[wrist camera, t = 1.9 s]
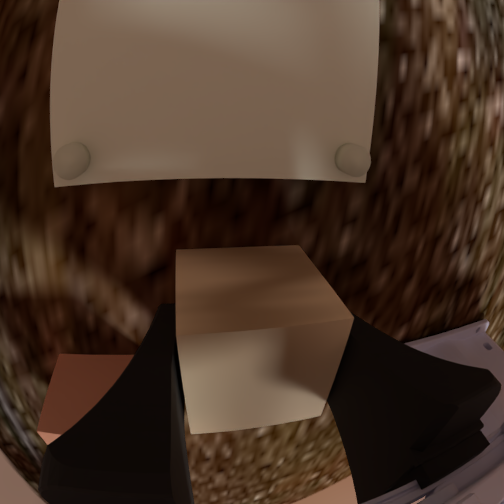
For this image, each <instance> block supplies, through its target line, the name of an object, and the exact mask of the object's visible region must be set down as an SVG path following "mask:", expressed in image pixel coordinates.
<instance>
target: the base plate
mask: <svg viewBox="0 0 504 504" xmlns="http://www.w3.org/2000/svg"><path fill="white" fill-rule="evenodd" d="M378 53H379V0H59V5H58V11H57V18H56V25H55V32H54V41H53V51H52V64H51V82H50V134H51V153H52V166H53V177H54V187H62V186H72V185H83V184H95V183H108V182H123V181H140V180H162V179H194V178H272V179H305V180H326V181H344V182H359V183H365V182H366V175H367V171H368V170H369V168H370V165H371V157H370V146H371V138H372V129H373V120H374V110H375V99H376V87H377V72H378Z"/></svg>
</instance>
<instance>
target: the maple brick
mask: <svg viewBox="0 0 504 504" xmlns="http://www.w3.org/2000/svg"><path fill="white" fill-rule="evenodd" d="M353 320H354V317H353V315H352V314H351V313H350V311H349V310H348V309H347V307H346V306H345V305H344V303H343V302H342V301H341V299H340V298H339V297H338V295H337V294H336V293H335V291H334V290H333V289H332V287H331V286H330V285H329V284H328V282H327V281H326V280H325V278H324V277H323V276H322V274H321V273H320V272H319V270H318V269H317V268H316V267H315V265H314V264H313V263H312V261H311V260H310V259H309V257H308V256H307V255H306V254H305V252H304V251H303V250H302V249H301V247H300V246H299V245H286V246H258V247H231V248H204V249H179V250H176V339H177V347H178V355H179V362H180V369H181V376H182V383H183V390H184V396H185V402H186V409H187V414H188V420H189V426H190V431H191V434H200V433H212V432H223V431H233V430H241V429H249V428H256V427H263V426H270V425H276V424H282V423H287V422H293V421H298V420H303V419H308V418H312V417H317V416H321V413H322V411H323V408H324V406H325V403H326V400H327V398H328V395H329V392H330V390H331V387H332V384H333V381H334V379H335V376H336V373H337V370H338V367H339V364H340V361H341V358H342V355H343V352H344V349H345V346H346V343H347V340H348V337H349V333H350V330H351V327H352V324H353Z"/></svg>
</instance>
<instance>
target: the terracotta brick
mask: <svg viewBox="0 0 504 504" xmlns="http://www.w3.org/2000/svg"><path fill="white" fill-rule="evenodd" d="M133 356H134V355H87V354H59V356H58V359H57V362H56V365H55V368H54V371H53V374H52V377H51V381H50V384H49V387H48V391H47V394H46V398H45V401H44V405H43V408H42V412H41V416H40V420H39V424H38V428H37V432H38V433H39V435H40V436H41V437H42V438H43V440H44V441H45V442H46V443H47V445H48V444H50V443H51V442H53V441H54V440H55V439H57V438H58V437H59V436H61V435H62V434H63V433H64V432H66V431H67V430H68V429H70V428H71V427H72V426H73V425H74V424H76V423H77V422H78V421H79V420H80V419H81V418H82V417H83V416H84V415H85V414H86V413H87V412H88V411H89V410H91V409H92V408H93V407H94V406H95V405H96V404H97V403H98V402H99V400H100V399H101V398H102V397H103V396H104V395H105V394H106V393H107V391H108V390H109V389H110V388H111V387H112V386H113V384H114V383H115V382H116V381H117V379H118V378H119V377H120V375H121V374H122V373H123V371H124V370H125V368H126V367H127V366H128V364H129V363H130V361H131V359H132V358H133Z"/></svg>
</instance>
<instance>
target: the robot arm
mask: <svg viewBox="0 0 504 504" xmlns="http://www.w3.org/2000/svg"><path fill="white" fill-rule="evenodd" d="M350 313H351V312H350ZM351 314H352V315H353V317H354V320H353V324H352V327H351V330H350V333H349V337H348V340H347V343H346V346H345V349H344V352H343V355H342V358H341V361H340V364H339V367H338V370H337V373H336V376H335V379H334V381H333V384H332V387H331V390H330V392H329V395H328V398H327V402H328V404H329V406H330V408H331V411H332V413H333V416H334V418H335V421H336V424H337V427H338V430H339V433H340V436H341V439H342V442H343V445H344V448H345V452H346V455H347V459H348V462H349V466H350V470H351V474H352V478H353V483H354V487H355V492H356V497H357V503H358V504H411V503H413V502H415V501H417V500H419V499H420V498H422V497H424V496H426V497H425V499H424V500H422V501H420V502H419V503H417V504H504V351H503V350H502V349H501V348H500V347H499V346H498V345H497V344H496V343H495V342H494V341H493V340H492V339H491V338H490V337H489V336H488V335H487V334H486V333H485V331H486V329H487V327H488V325H489V322H488V321H487V320H486V319H484V320H481V321H478V322H475V323H472V324H469V325H466V326H463V327H460V328H457V329H454V330H450V331H447V332H444V333H440V334H437V335H434V336H430V337H427V338H423V339H419V340H416V341H412V342H408V343H402V342H400V341H398V340H396V339H394V338H392V337H390V336H388V335H386V334H385V333H383V332H381V331H380V330H378V329H376V328H374V327H373V326H371V325H370V324H368V323H367V322H365V321H363V320H362V319H360V318H359V317H357V316H356V315H354V314H353V313H351ZM184 398H185V396H184V390H183V383H182V376H181V369H180V362H179V355H178V347H177V339H176V303H174V304H161V305H160V306H159V307H158V310H157V312H156V315H155V317H154V320H153V322H152V324H151V326H150V328H149V330H148V332H147V334H146V336H145V337H144V339H143V341H142V343H141V345H140V347H139V348H138V350H137V351H136V353H135V355H134V356H133V358H132V359H131V361H130V363H129V364H128V366H127V367H126V368H125V370H124V371H123V373H122V374H121V375H120V377H119V378H118V379H117V381H116V382H115V383H114V384H113V386H112V387H111V388H110V389H109V390H108V391H107V393H106V394H105V395H104V396H103V397H102V398H101V399H100V400H99V402H98V403H97V404H96V405H95V406H94V407H93V408H92V409H91V410H89V411H88V412H87V413H86V414H85V415H84V416H83V417H82V418H81V419H80V420H79V421H78V422H77V423H76V424H74V425H73V426H72V427H71V428H70V429H68V430H67V431H66V432H64V433H63V434H62V435H61V436H59V437H58V438H57V439H55V440H54V441H53V442H51V443H50V444H48V445H47V449H46V452H45V455H44V458H43V462H42V466H41V473H40V480H39V487H38V490H39V493H40V495H41V496H42V497H43V498H44V499H45V500H46V501H47V502H49V503H50V504H194V499H193V493H192V487H191V480H190V473H189V466H188V459H187V450H186V442H185V430H184Z"/></svg>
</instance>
